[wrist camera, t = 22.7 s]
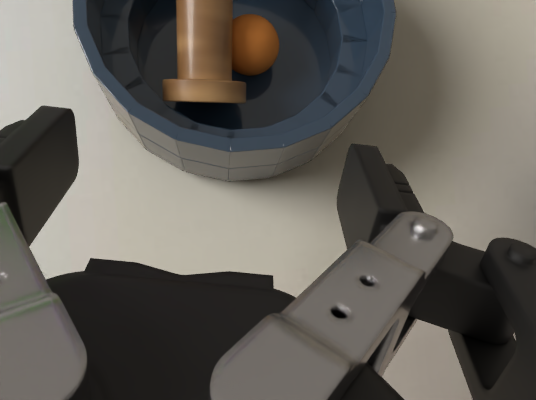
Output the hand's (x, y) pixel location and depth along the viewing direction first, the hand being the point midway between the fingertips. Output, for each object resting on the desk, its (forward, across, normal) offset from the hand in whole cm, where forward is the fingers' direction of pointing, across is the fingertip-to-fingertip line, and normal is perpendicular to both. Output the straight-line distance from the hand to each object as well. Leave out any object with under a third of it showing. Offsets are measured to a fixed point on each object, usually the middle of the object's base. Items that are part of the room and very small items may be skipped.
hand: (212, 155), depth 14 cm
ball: (+12, -1, 0) cm, 12 cm away
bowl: (+14, 0, +1) cm, 14 cm away
